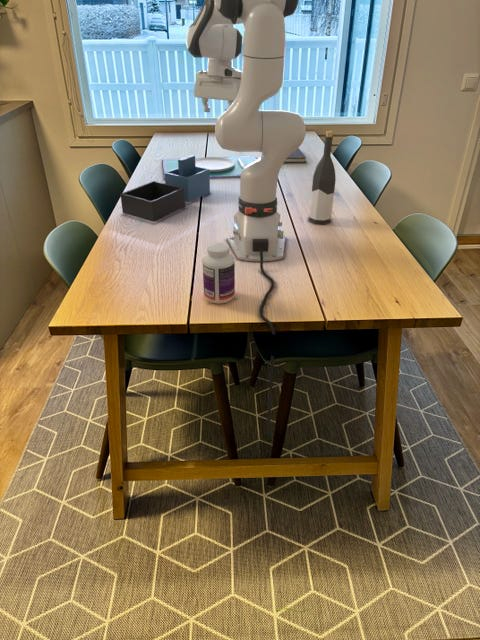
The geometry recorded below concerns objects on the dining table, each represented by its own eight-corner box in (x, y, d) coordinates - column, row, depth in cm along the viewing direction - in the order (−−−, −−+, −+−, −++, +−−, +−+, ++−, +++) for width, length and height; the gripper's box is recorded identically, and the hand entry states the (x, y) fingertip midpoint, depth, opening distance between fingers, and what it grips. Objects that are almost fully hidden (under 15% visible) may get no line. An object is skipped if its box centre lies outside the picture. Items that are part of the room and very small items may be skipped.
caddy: (188, 188, 193) (186, 151, 185) (210, 193, 188) (209, 155, 180) (166, 198, 183) (163, 159, 175) (188, 204, 179) (186, 164, 170)
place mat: (164, 180, 202) (164, 174, 201) (162, 160, 227) (162, 155, 226) (266, 176, 208) (267, 171, 207) (254, 157, 233) (254, 152, 232)
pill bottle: (235, 290, 126) (236, 240, 118) (233, 306, 119) (233, 254, 111) (205, 288, 126) (204, 239, 118) (201, 304, 120) (199, 253, 111)
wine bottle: (334, 218, 168) (346, 130, 151) (325, 226, 162) (337, 135, 146) (313, 214, 172) (322, 127, 155) (304, 221, 166) (312, 132, 149)
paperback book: (296, 150, 245) (297, 145, 244) (306, 162, 226) (306, 157, 225) (266, 150, 244) (266, 145, 243) (273, 163, 225) (273, 158, 224)
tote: (155, 200, 181) (153, 180, 177) (185, 208, 175) (184, 187, 170) (123, 215, 169) (120, 193, 164) (154, 223, 162) (151, 202, 158)
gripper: (191, 69, 170) (189, 110, 176) (238, 72, 161) (235, 115, 167) (201, 70, 175) (199, 111, 181) (248, 73, 166) (244, 116, 172)
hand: (217, 113), depth 174 cm, fingers open, 8 cm apart
